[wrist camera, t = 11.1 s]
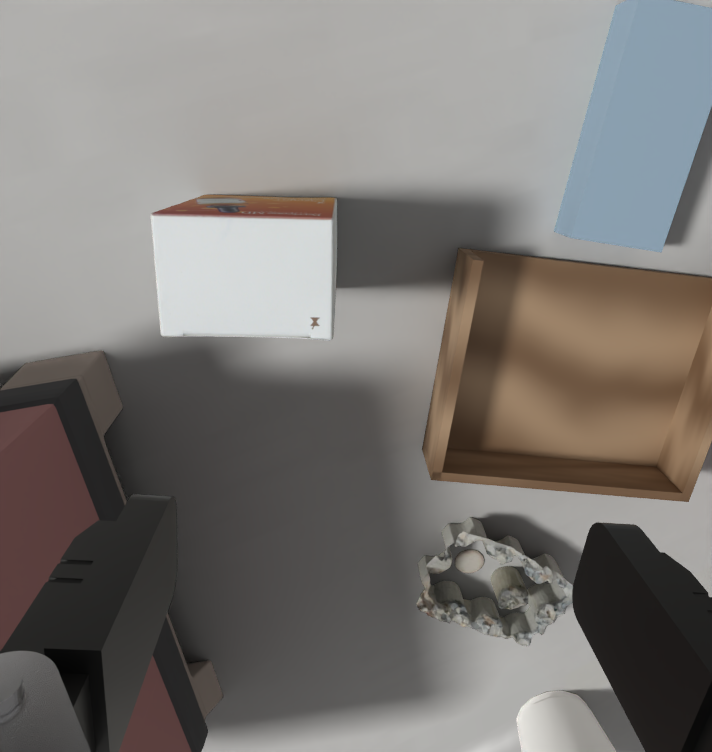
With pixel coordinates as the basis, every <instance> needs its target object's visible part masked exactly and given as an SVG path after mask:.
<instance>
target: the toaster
mask: <svg viewBox="0 0 712 752" xmlns="http://www.w3.org/2000/svg"><path fill="white" fill-rule="evenodd" d="M122 409H123V405H122V403H121V400H120V397H119V394H118V391H117V388H116V386H115V383H114V380H113V377H112V374H111V371H110V368H109V366H108V363H107V360H106V357H105V354H104V352H103V351H102V350H100V351H94V352H88V353H83V354H77V355H71V356H65V357H59V358H53V359H47V360H41V361H35V362H30V363H25V364H24V365H23V366H22V367H21V368H20V369H19V370H18V371H17V372H16V373H15V374H14V376H13V377H12V378H11V379H10V380H9V381H8V382H7V383H6V384H5V385H4V386H3V387H2V388H1V389H0V651H1V650H2V648H3V647H4V645H5V644H6V642H7V641H8V639H9V638H10V636H11V635H12V633H13V632H14V630H15V628H16V627H17V625H18V624H19V622H20V621H21V619H22V618H23V616H24V615H25V613H26V612H27V610H28V609H29V607H30V605H31V604H32V602H33V601H34V599H35V598H36V596H37V595H38V593H39V592H40V590H41V589H42V587H43V585H44V584H45V582H48V580H49V576H50V575H51V573H52V572H53V570H54V569H55V567H56V566H57V564H60V561H61V558H62V556H63V555H64V553H65V552H66V550H67V549H68V547H69V546H70V544H71V543H72V541H73V539H74V538H75V537H76V536H78V535H79V534H80V533H82V532H83V531H84V530H86V529H87V528H89V527H90V526H91V525H93V524H94V523H95V522H97V521H98V520H103V521H117V519H118V517H119V515H120V514H121V512H122V510H123V508H124V507H125V505H126V503H127V501H126V498H125V495H124V493H123V490H122V487H121V485H120V482H119V479H118V477H117V474H116V471H115V468H114V466H113V463H112V460H111V458H110V455H109V452H108V449H107V447H106V444H105V440H104V434H105V433H106V431H107V430H108V428H109V427H110V426H111V424H112V423H113V421H114V420H115V419H116V417H117V416H118V414H119V413H120V411H121V410H122ZM222 698H223V694H222V691H221V688H220V685H219V682H218V679H217V676H216V674H215V671H214V668H213V665H212V662H211V661H209V660H208V661H202V662H195V663H189V664H186V661H185V658H184V655H183V653H182V650H181V647H180V645H179V642H178V639H177V636H176V634H175V631H174V628H173V626H172V623H171V620H170V617H169V615H168V612H167V615H166V618H165V621H164V624H163V626H162V629H161V632H160V635H159V638H158V641H157V644H156V647H155V649H154V652H153V655H152V658H151V661H150V664H149V667H148V669H147V672H146V675H145V678H144V681H143V684H142V687H141V690H140V692H139V695H138V698H137V701H136V704H135V707H134V710H133V712H132V715H131V718H130V721H129V724H128V727H127V730H126V733H125V735H124V738H123V741H122V744H121V747H120V750H119V752H201V751H202V749H203V746H204V743H205V740H206V737H207V733H208V729H207V726H206V723H205V718H206V716H207V715H208V714H209V713H210V711H211V710H212V709H213V708H214V707H215V706H216V705H217V703H218V702H219V701H220V700H221V699H222Z"/></svg>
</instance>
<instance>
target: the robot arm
mask: <svg viewBox="0 0 712 752" xmlns="http://www.w3.org/2000/svg"><path fill="white" fill-rule="evenodd" d="M177 562H178V561H177V509H176V500H175V498H174V497H172V496H155V495H138V494H133V495H131V496H130V498H129V500H128V501H127V503H126V505H125V507H124V508H123V510H122V512H121V514H120V515H119V517H118V519H117V521H103V520H98V521H97V522H95V523H94V524H93V525H91V526H90V527H89V528H87V529H86V530H84V531H83V532H82V533H80V534H79V535H78V536H76V537H75V538H74V539H73V541H72V543H71V544H70V546H69V547H68V549H67V550H66V552H65V553H64V555H63V556H62V558H61V561H60V564H57V566H56V567H55V569H54V570H53V572H52V573H51V575H50V576H49V580H48V582H45V584H44V585H43V587H42V589H41V590H40V592H39V593H38V595H37V596H36V598H35V599H34V601H33V602H32V604H31V605H30V607H29V609H28V610H27V612H26V613H25V615H24V616H23V618H22V619H21V621H20V622H19V624H18V625H17V627H16V628H15V630H14V632H13V633H12V635H11V636H10V638H9V639H8V641H7V642H6V644H5V645H4V647H3V648H2V650H1V651H0V752H119V750H120V747H121V744H122V741H123V738H124V735H125V733H126V730H127V727H128V724H129V721H130V718H131V715H132V712H133V710H134V707H135V704H136V701H137V698H138V695H139V692H140V690H141V687H142V684H143V681H144V678H145V675H146V672H147V669H148V667H149V664H150V661H151V658H152V655H153V652H154V649H155V647H156V644H157V641H158V638H159V635H160V632H161V629H162V626H163V624H164V621H165V618H166V615H167V612H168V609H169V606H170V604H171V601H172V598H173V594H174V589H175V584H176V577H177ZM572 602H573V609H574V613H575V616H576V618H577V621H578V623H579V624H580V626H581V628H582V630H583V632H584V634H585V636H586V638H587V640H588V642H589V644H590V646H591V648H592V649H593V651H594V653H595V655H596V657H597V659H598V661H599V663H600V665H601V667H602V669H603V671H604V673H605V675H606V676H607V678H608V680H609V682H610V684H611V686H612V688H613V690H614V692H615V694H616V696H617V698H618V700H619V701H620V703H621V705H622V707H623V709H624V711H625V713H626V715H627V717H628V719H629V721H630V723H631V725H632V726H633V728H634V730H635V732H636V734H637V736H638V738H639V740H640V742H641V744H642V746H643V748H644V750H645V752H712V597H709V596H708V592H707V591H706V590H705V589H704V587H703V586H702V585H701V584H700V583H699V581H698V580H697V579H696V578H695V577H694V576H693V574H692V573H691V572H690V571H689V570H687V569H686V568H685V567H683V566H682V565H680V564H679V563H678V562H676V561H675V560H674V559H672V558H671V557H670V556H668V555H667V554H665V553H660V552H659V551H658V549H657V548H656V547H655V546H654V544H653V543H652V542H651V541H650V539H649V538H648V537H647V536H646V535H645V533H644V532H643V531H642V530H641V529H640V528H639V527H638V526H636V525H630V524H613V523H595V524H593V525H592V527H591V528H590V530H589V533H588V536H587V539H586V543H585V546H584V550H583V553H582V556H581V560H580V563H579V567H578V570H577V574H576V577H575V580H574V584H573V590H572Z"/></svg>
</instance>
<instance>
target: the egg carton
mask: <svg viewBox="0 0 712 752" xmlns="http://www.w3.org/2000/svg"><path fill="white" fill-rule="evenodd" d="M441 533H442V536H443V539H444V543H445V547H446V549H445V550H444V552H442V553H441V554H439V555H436V556H425V555H424V556H423V557H422V559H421V560H420V561H419V563H418V568H419V573H420V578H421V581H422V584H423V585H424V590H423V592H422V593H421V595H420V598H419V599H418V601H417V603H416V605H417V607H418V608H419V610H420V611H422V612H426V614H427V615H428V616H430V617H432V618H433V617H434V618H437V619H438V620H440V621H444V622H448V623H450V622H451V620H453V621H454V622H456V623H458V624H459V625H461V626H463V627H465V626H468V627H470V628H472V629H476V630H477V631H479V632H481V633H482V634H484V635H490V636H495V637H503V638H505V639H508V638H513V639H515V641H516V642H517V643H518V644H520V645H526V646H529V645H530V643H531V638H532V637H533V636H534V635H535V634H536V633H539V634H541V635H542V634H544V632H545V629H546V627H547V626H548V625H550V624H552V623H554V622H555V620H556V619H557V618H558V617H559V616H561V615H563V614H565V610H566V608H567V605H570V604H572V603H573V602H572V590H573V585H572V584H570V583H569V582H568V581H567V580H565V579H564V578H563V575H562V572H561V571H560V569H559V567H558V565H557V563H556V561H555V560H554V558H553V557H552V556H550V555H548V554H545V553H543V554H542V555H540V556H539V557H536V558H534V559H530V558H529V557H528V556H526V555H525V554H524V552H523V550H522V548H521V546H520V543H519V541H518V540H517V539H515V538H513V537H511V536H509V535H508V536H506V537H504V538H503V539H501V540H498V541H492V540H490V539H487V536H486V534H485V531H484V528H483V526H482V523H481V522H480V521H479V520H477V519H475V518H472V517H470V518H469V519H467V520H466V521H465V522H463V523H460V524H452V523H449V524H448V525H447V526H446V527H445V528H444V529H443V530H442V532H441ZM475 541H483V544H484V546H485V549H486V552H487V554H488V555H489V556H490V557H492V558H494V559H496V560H498V561H499V562H500V564H505V563H508V562H511V561H512V559H513V557H514V556H515V555H517V556H518V557H519V559H520V561H521V562H522V564H523V567H524V571H525V573H526V575H527V576H529V577H530V578H531V580H533V581H534V582H535V583H538V584H534V585H532V586H531V587H529V588H528V590H527V589H526V587H525V585H524V582H523V580H522V578H521V575H520V573H519V571H518V570H517V569H516V568H514V567H510V566H505V567H501V568H498V569H496V570H495V571H494V572H493V574H492V576H491V583H492V586H493V589H494V592H495V595H496V598H497V601H498V607H499V608H500V609H501V608H505V609H515V608H518V607H520V606H522V605H527V604H528V605H529V608H528V610H527V611H526V612H525V613H519V612H515V613H511V614H508V615H507V616H505V617H501V616H499V614H498V611H497V609H496V606H495V603H494V601H493V600H491V599H490V598H488V597H477V598H475V599H473V600H471V601H469V600H466V599H463V597H462V594H461V591H460V588H459V586H458V585H457V584H456V583H455V582H452V581H441V582H439V583H437V584H435V585H431V584H430V576H429V573H432V574H440V573H442V572H443V571H445V570H447V569H448V568H450V566H451V564H452V559H453V558H452V554H451V550H450V547H449V546H450V545H452V544H454V545H455V546H456V547H457V546H463V547H467V546H468V545H469V544H472V543H473V542H475ZM483 564H484V558H483V555H482V554H481V553H480V552H479V551H477V550H473V549H468V550H464V551H462V552H460V553H459V554H458V555H457V556H456V558H455V566H456V568H457V569H458V570H459V571H460V572H463V573H474V572H476V571H478V570H479V569H481V568H482V566H483ZM546 581H548V582H550V583H544V582H546Z"/></svg>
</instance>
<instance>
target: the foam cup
mask: <svg viewBox="0 0 712 752" xmlns="http://www.w3.org/2000/svg"><path fill="white" fill-rule="evenodd" d="M516 720H517V724H518V726H517V727H518V733H519V739H520V744H521V750H522V752H617V751H616V750H615V748H614V747H613V745H612V743H611V742H610V740H609V739H608V737H607V735H606V734H605V732H604V731H603V729H602V727H601V726H600V724H599V723H598V721H597V719H596V718H595V716H594V714H593V713H592V711H591V710H590V709H589V708H588V706H587V704H586V703H585V702H584V701H583V700H582V699H581V698H580V697H579V696H578V695H576V694H573V693H570V692H566V691H551V692H545V693H543V694H540V695H538V696H535V697H533V698H531V699H530V700H529V701H528V702H527V703H526V704H524V705H523V706H522V707H521V709H520V711H519V714H518V716H517V719H516Z"/></svg>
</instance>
